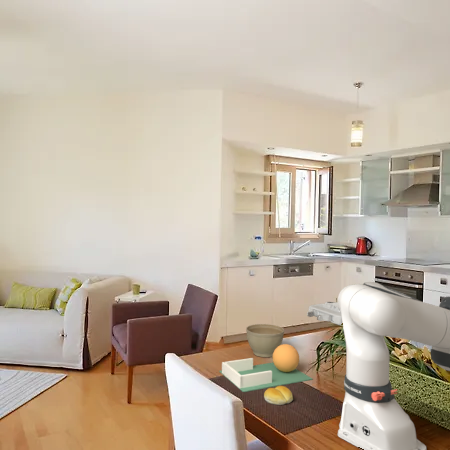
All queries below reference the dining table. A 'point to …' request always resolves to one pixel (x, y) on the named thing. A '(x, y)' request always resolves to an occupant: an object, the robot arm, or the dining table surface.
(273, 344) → the planter bowl
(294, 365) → the ball
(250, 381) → the white open box
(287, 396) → the bread roll
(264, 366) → the putting mat
